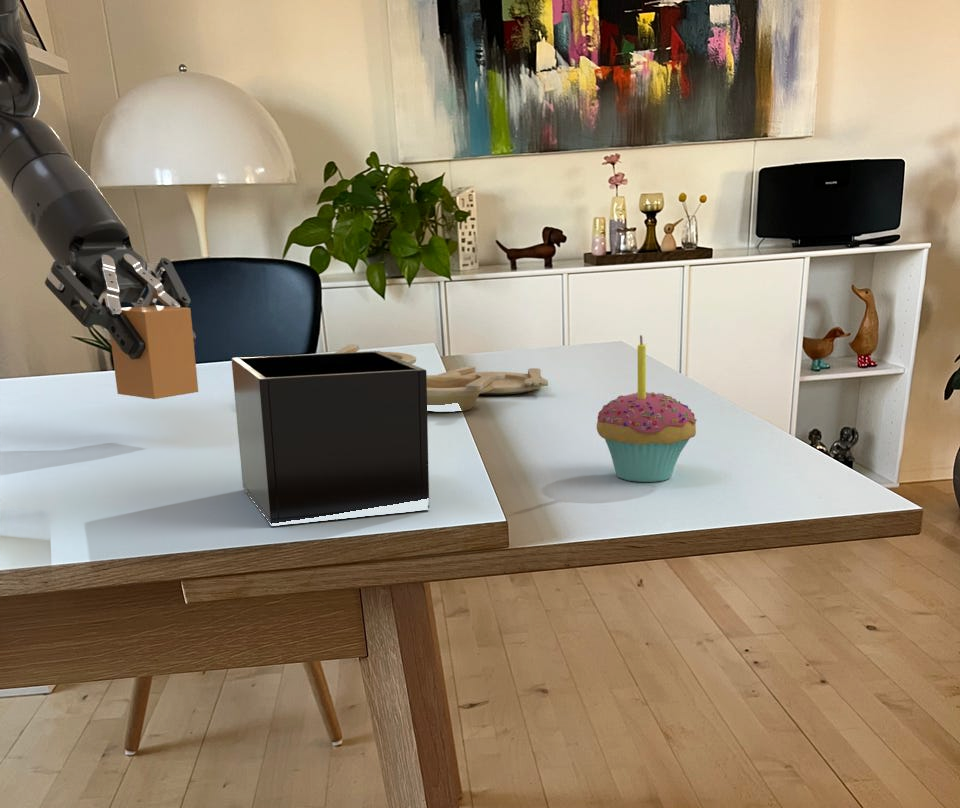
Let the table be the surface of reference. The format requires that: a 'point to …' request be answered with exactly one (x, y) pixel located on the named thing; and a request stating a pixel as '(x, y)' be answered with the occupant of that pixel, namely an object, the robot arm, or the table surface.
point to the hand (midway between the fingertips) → (165, 350)
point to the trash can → (331, 432)
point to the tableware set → (469, 382)
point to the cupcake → (645, 430)
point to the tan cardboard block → (158, 354)
